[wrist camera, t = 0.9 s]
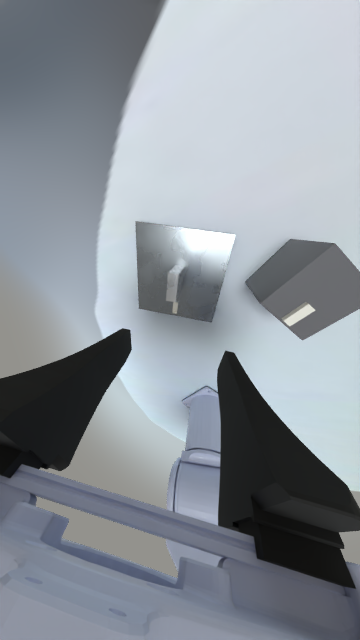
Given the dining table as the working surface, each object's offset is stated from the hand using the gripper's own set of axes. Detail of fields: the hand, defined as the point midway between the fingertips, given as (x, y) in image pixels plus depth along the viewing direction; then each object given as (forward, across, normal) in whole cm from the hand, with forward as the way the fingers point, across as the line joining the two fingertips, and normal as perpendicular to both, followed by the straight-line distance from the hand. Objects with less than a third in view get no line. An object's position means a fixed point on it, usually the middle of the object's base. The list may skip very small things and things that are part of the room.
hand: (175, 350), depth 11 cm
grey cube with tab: (+10, -10, -4) cm, 14 cm away
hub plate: (+10, +2, -3) cm, 10 cm away
